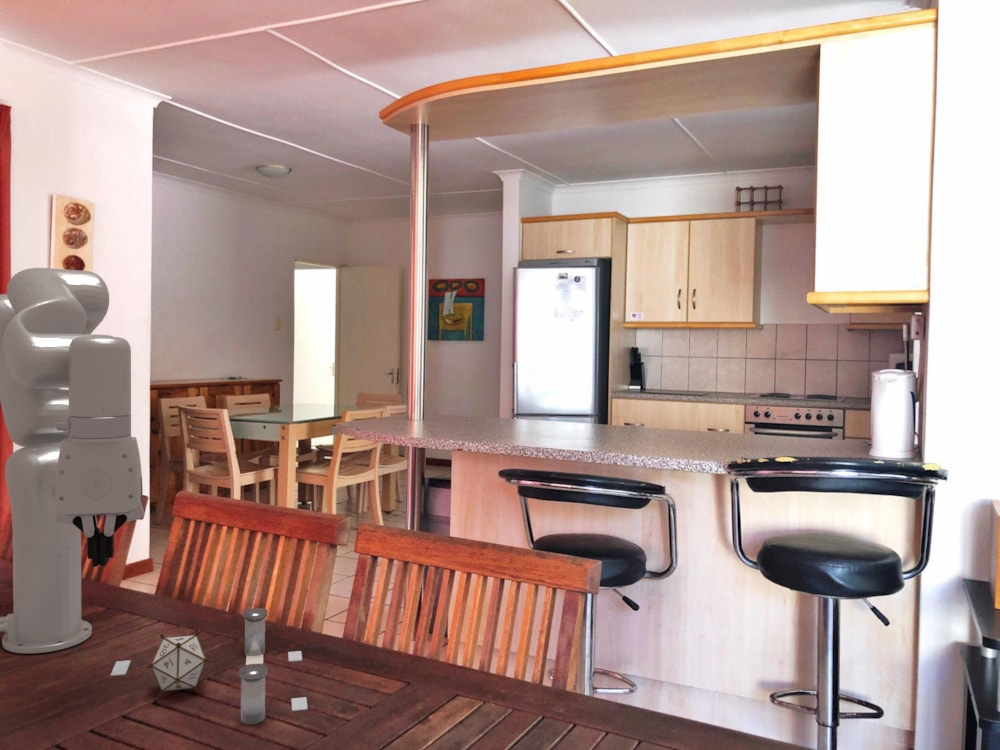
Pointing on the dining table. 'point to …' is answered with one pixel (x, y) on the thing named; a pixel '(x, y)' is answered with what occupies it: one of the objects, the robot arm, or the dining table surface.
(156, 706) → the dining table surface
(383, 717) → the dining table surface
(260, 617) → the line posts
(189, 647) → the game die
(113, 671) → the distance lines
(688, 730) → the dining table surface
